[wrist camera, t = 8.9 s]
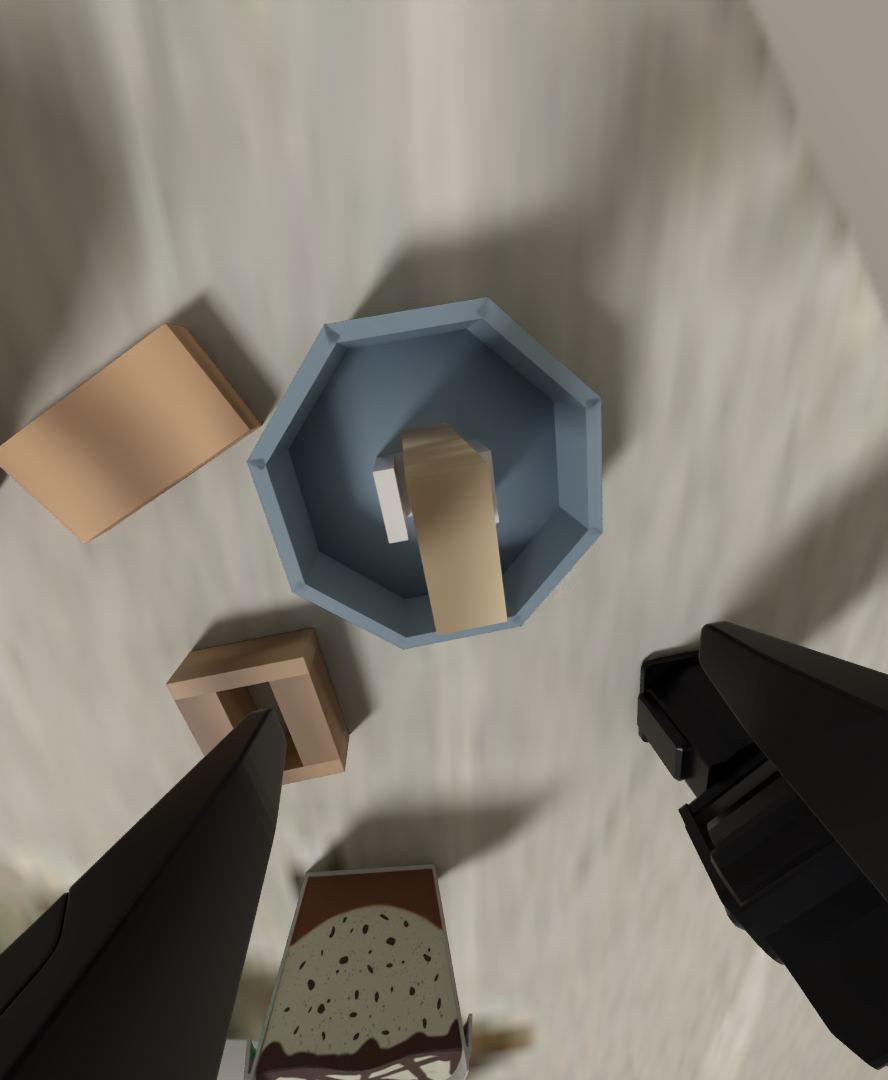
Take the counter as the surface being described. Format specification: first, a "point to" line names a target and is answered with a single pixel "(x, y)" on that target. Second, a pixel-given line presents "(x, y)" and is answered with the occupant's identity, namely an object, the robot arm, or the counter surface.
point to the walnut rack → (297, 683)
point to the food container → (365, 984)
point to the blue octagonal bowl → (378, 465)
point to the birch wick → (454, 528)
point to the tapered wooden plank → (128, 433)
